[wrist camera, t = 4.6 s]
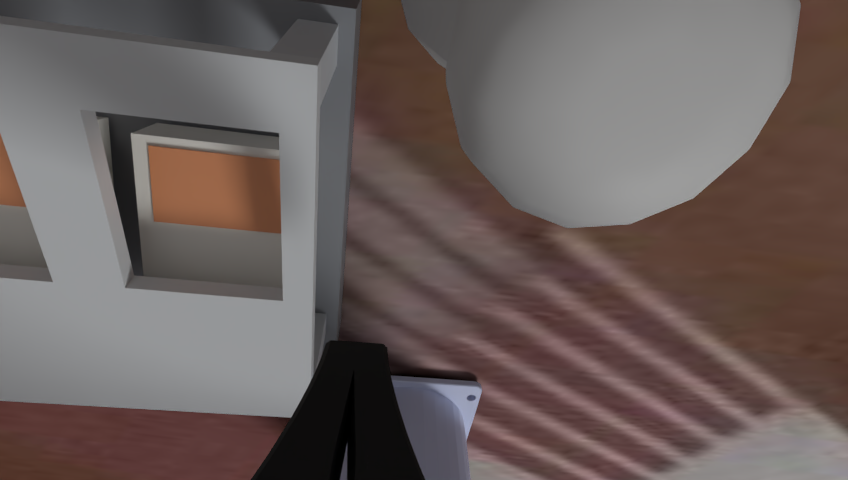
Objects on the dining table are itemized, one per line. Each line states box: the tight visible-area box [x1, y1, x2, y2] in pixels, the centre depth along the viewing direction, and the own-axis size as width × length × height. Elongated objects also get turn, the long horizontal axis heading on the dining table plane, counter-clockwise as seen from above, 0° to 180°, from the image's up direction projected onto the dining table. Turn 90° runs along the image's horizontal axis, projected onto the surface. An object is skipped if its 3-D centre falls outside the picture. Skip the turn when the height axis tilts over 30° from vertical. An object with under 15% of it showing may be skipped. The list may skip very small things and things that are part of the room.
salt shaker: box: [401, 0, 801, 228], centre depth 11 cm, size 6×6×13 cm
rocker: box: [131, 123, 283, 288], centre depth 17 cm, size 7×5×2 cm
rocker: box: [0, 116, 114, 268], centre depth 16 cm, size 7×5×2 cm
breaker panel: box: [0, 0, 362, 418], centre depth 17 cm, size 15×14×7 cm
